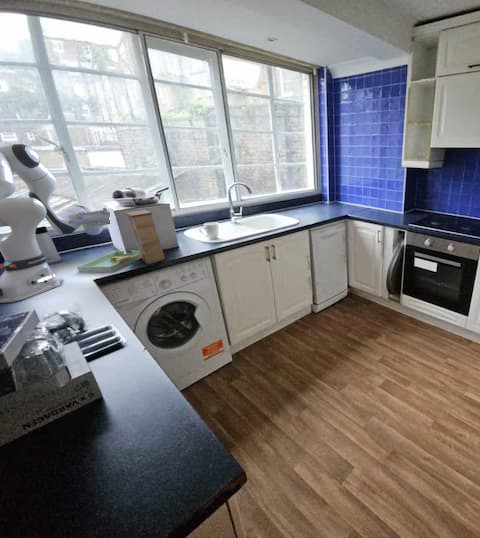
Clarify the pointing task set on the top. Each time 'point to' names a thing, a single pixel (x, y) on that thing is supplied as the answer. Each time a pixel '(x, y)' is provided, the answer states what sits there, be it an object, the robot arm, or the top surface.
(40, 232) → the travel mug
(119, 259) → the key
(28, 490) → the top surface
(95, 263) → the tray
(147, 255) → the key stand
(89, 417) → the top surface
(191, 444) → the top surface
